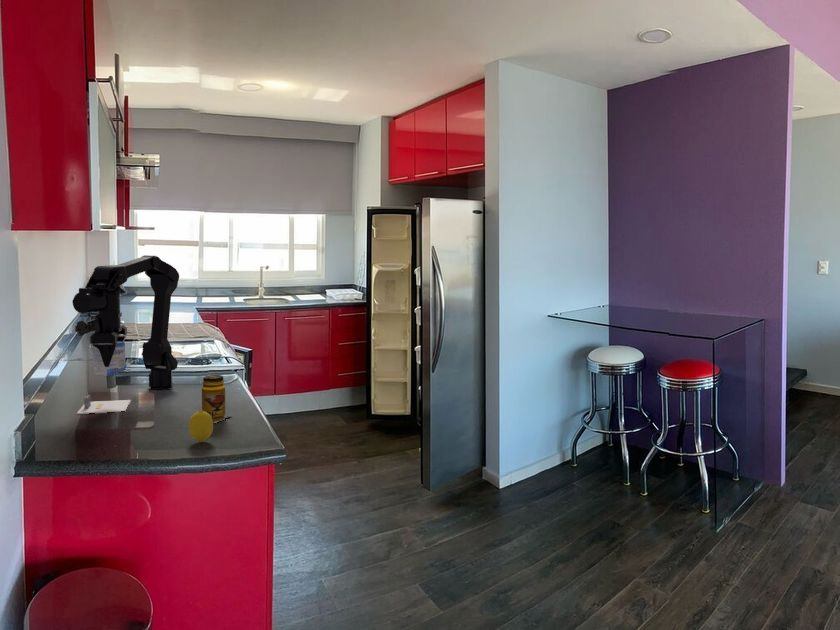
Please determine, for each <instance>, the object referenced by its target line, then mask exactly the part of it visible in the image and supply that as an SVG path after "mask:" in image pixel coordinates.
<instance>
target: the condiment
mask: <svg viewBox="0 0 840 630" xmlns="http://www.w3.org/2000/svg"><path fill="white" fill-rule="evenodd" d="M224 380H225V379H224V376H223V375H222V374H209V375H205V376H203V378H202V387H201V410H203V411H205V412H207V413H208V414H210V416H211V417H212V421H213V422H215V421H220V420H223V419H225V415H226V386H225V385H224V383H225V382H224Z"/></svg>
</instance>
